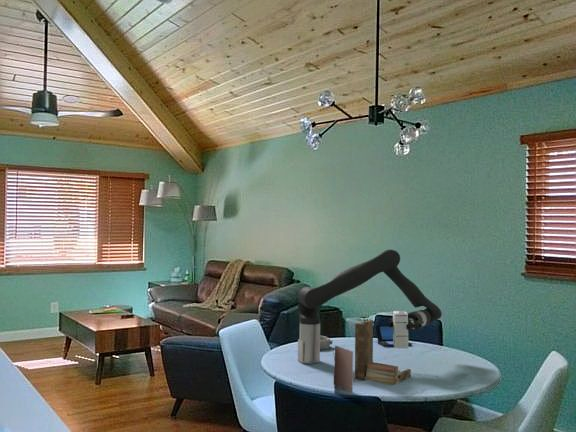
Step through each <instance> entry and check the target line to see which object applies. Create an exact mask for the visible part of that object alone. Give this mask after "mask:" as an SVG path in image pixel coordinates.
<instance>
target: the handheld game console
mask: <svg viewBox="0 0 576 432" xmlns="http://www.w3.org/2000/svg"><path fill="white" fill-rule="evenodd" d="M374 329H375V333H376V339H377V344H378V345H380V346H382V347H383V348H395V347H394V345H393V327H389V326H388V324H376V325H375V328H374ZM412 346H413V344H412V343H411V342H409V341H408V347H412Z"/></svg>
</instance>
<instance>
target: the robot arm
mask: <svg viewBox="0 0 576 432" xmlns="http://www.w3.org/2000/svg"><path fill="white" fill-rule="evenodd" d="M400 262H401V256H400V253H399V252H398V251H397V250H394V249H386V250H383V252H381V253H379V254H377V256H375V257H373V258H371V259H369V260H366V261H364V262H361V263H358V264H356V265H354V266H351V267H349V268H347V269H344V270H342V271H340V272H339V273H337V274H336V275H335V276H334V277H332V279H331V280H329V281H328V282H326V283H325V284H322V285H318V286H317V287H312V286H305V287H303V288H301V289H300V291H299V293H298V297H297V304H298V305H297V307H298V308H297V311H298V312H297V313H298V319H299V339H298V338H297V361H298V362H300V363H301V364H311V365H313V364H318V363H320V362H321V351H320V336H321V317H320V314H319V310H318V309H319V308H320V307H321V306H322V305H324V304H326V303H328V301H330V300H332V299H333V298H335V297H338V296H341V295H343V294H345V293H347V292H349V291H351V290H354V289H356V288H357V287H359V286H361V285H363V284H365V283H366V282H368V281H369V280H371V279H372V278H373V277H375V276H377V275H379V274H380V273H384V274H385V275H386V276H387V277H388V278H389V279H390V281H392V282H393V283H394V284H395V286H397V288H399V290H400V291H401V292H402V293H403V295H404V296H405V297H406V298H407V299H408V301H409V302H410V304H411V305H412V306H413V307H414V308H416V309H417V308H420V307H425V308H424V309H419V310H415V311H411V312H407V314H408V324H407V330H408V331H415V330H420V329H423V328H424V327H427V326H431V324H433V323H434V322H436V321H438V320H439V319H440V318H441V317H442V311H441V309H440V307H439V306H438V305H436V304H435V303H434V302H432V301H431V300H430V299H428V298H427V296H425V295H424V293H423V292H422V291H421V289H420V288H419V287H418V286H417V284H416V283H414V282H413V281H412V280H410V279H409V278H408V277H407V276H405V275H404V273H402V271H401V270H400V269H399V267H398V266H399V264H400ZM441 319H442V318H441ZM387 325H388V326H389V327H393V317H392V318H389V319H388V323H387Z"/></svg>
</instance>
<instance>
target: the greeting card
mask: <svg viewBox="0 0 576 432" xmlns="http://www.w3.org/2000/svg"><path fill="white" fill-rule="evenodd" d="M332 352H333V354H334V355H333V357H334V367H333V387H334V388H336V387H338V388H341V389H344V390H346V391H347V392H350V393H353V383H354V382H353V380H354V379H353V378H354V376H353V375H354V374H353V372H354V370H353V368H354V366H353V365H354V359H353V358H354V356H353V355H354V351H353V350H350V349H346V348H344V347H341V346H338V345H335V346H334V350H332ZM333 392H334V394H336V393H335V391H333Z"/></svg>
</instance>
